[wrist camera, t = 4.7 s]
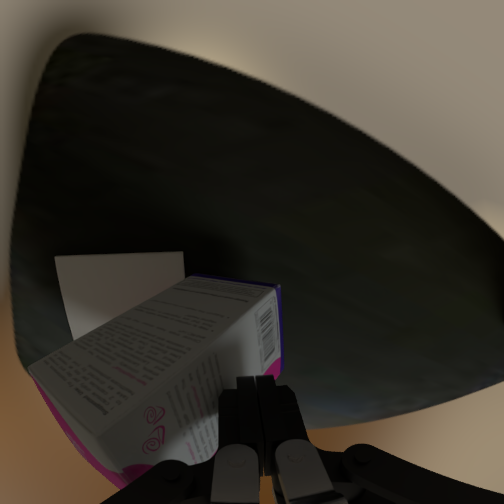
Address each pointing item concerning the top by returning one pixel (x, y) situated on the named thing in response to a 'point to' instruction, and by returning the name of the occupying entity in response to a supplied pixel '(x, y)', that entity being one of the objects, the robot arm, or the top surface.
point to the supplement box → (162, 373)
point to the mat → (112, 284)
